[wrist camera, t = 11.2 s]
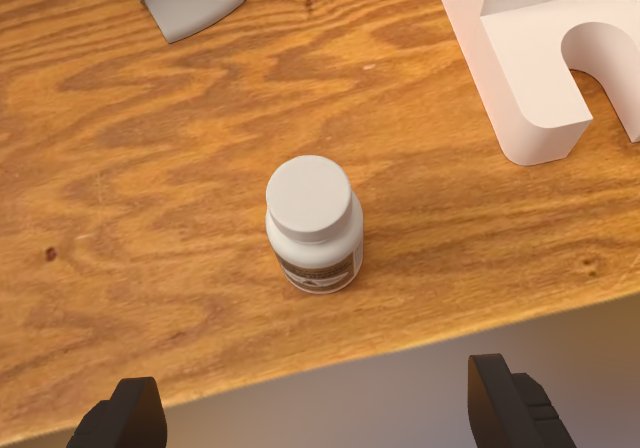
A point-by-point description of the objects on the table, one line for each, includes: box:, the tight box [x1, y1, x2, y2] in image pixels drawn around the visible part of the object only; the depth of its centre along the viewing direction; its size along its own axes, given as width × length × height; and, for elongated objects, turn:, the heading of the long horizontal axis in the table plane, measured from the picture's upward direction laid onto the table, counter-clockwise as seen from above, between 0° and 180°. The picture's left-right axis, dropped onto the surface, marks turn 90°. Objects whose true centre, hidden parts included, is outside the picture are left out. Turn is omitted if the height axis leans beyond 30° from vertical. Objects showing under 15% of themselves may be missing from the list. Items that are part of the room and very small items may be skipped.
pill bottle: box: [265, 155, 364, 294], centre depth 25 cm, size 4×4×8 cm
